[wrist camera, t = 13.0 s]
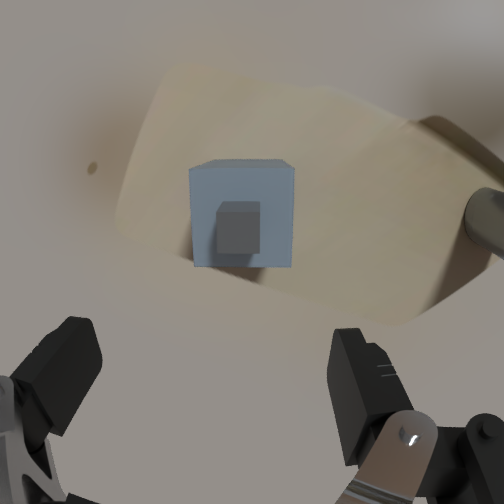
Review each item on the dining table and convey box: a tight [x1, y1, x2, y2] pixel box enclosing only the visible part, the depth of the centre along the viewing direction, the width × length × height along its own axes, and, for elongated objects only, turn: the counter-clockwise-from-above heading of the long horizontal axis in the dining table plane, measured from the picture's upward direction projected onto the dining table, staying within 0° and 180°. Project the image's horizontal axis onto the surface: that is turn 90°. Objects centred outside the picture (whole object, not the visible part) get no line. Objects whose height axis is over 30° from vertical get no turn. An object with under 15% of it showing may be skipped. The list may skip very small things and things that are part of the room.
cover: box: [189, 159, 294, 267], centre depth 30 cm, size 8×8×18 cm
